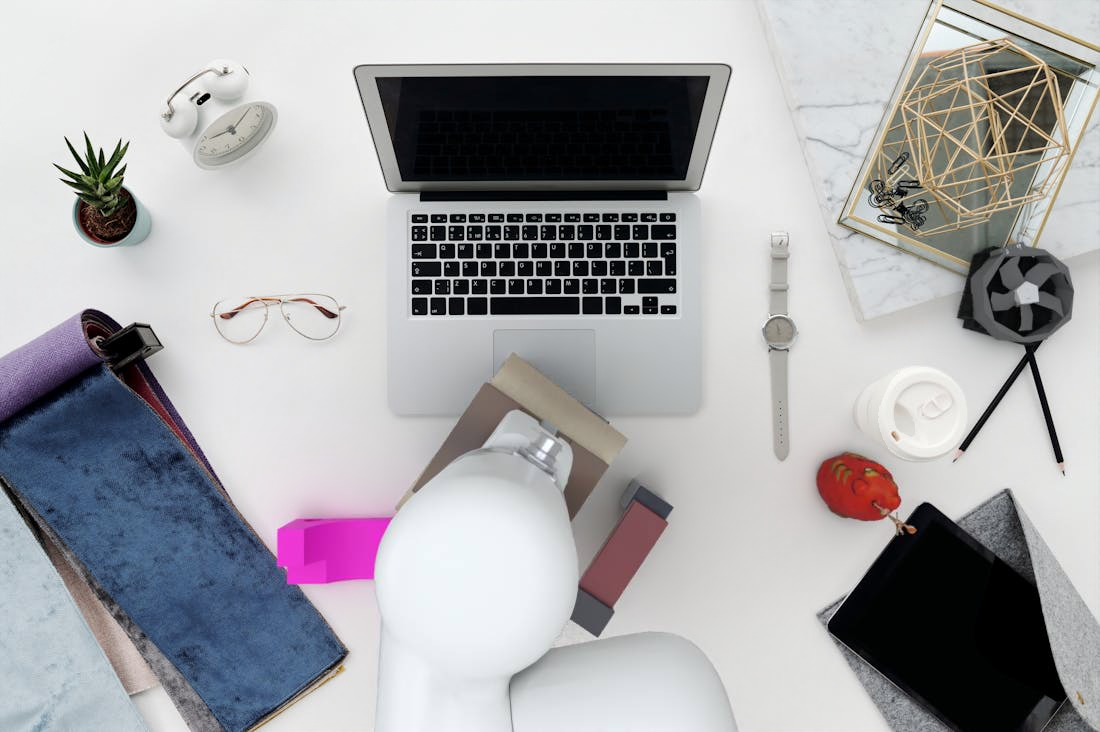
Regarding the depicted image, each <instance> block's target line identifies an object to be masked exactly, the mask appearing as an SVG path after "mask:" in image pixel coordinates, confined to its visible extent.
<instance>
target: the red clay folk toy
mask: <svg viewBox="0 0 1100 732" xmlns="http://www.w3.org/2000/svg"><path fill="white" fill-rule="evenodd" d="M885 467H886V466H884V465H883V464H880V463H879V462H877V461H875V460H872V459H869V458H867V457H866V456H863V455H862V454H858V453H854V452H850V451H845V452H843V453H841V454H840V455H838V456H833V457H831V458H828V459H826V460H825V461H823V462H822V464H821V465H820V468H819V470H818V472H817V474H816V479H815V480H816V488H817V491H818V493H819V495H820V497H821V499H822V500H823V502H824V503H825V504H826V505H827V508H828V509H829V511H830V512H831V513H833V514H835V515H836V516H838V517H840V518H842V519H852V520H858V521H861V522H876V521H877V522H878V521H882V520H884V519H885V518H886V517H888V518H889V519H890V520H891V522H893V524H894V525H895V534H896V535H895V536H896V537H898V536H899V533H900V535H902V536H903V535H905V532H904V531H903V530H902V527H905V529H906V530H907V532H908V533H909V534H915V533H916V532H917V529H916V528H915V526H913V525H910V524H906V523H905V522H903V521H902V520H900V519H899V517H898V516H899V515H898V514H899V513H898V512H895V517H894V516H892V515H891V514H892V513H893V512H894V511H896V510H897V509H898V508H900V506H901V504H902V498H901V496H900V495H899V487H898V484H897V483H896V482H895V481H894V477H893V475H892V473H891V472H890V471H889V470H888V469H887V468H885Z"/></svg>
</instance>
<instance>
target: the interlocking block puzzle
mask: <svg viewBox="0 0 1100 732" xmlns="http://www.w3.org/2000/svg"><path fill="white" fill-rule="evenodd" d="M513 410H520V411H522V412H524V413H526V414H527V415H529V416H531V417H532V418H534V419H535V420H537V421H538V422H539V424H540V422H541V421H542V420H543V418H544V419H545V420H547V421H548V422H550V423H551V424H552V425H554V426H555V427H557V428H558V430H557V432H556V435H555V437H556V438H559V437H561V438H562V439H563V440H565V441H566V442H567V443H568V444H569V445H570V447H571V449H572V453H573V462H572V467H571V471H570V474H569V477H568V482H567V484H566V486H565V489H564V492H563V494H564V497H565V501H566V505H567V510H568V514H569V519H570V524H571V523H572V522H573V520H574V519H575V518H576V516H577V515H578V513H579V511H580V510H581V509H582V507H583V505H584V504H585V502H586V501H587V499H588V498H589V497H590V495H591V493H592V492H593V490H594V489H595V488H596V486H597V485H598V483H599V482H600V480H601V479H602V477H603V476H604V475H605V473H606V472H607V470H608V469H609V466H610V465H611V464H612V462H613V460H614V459H616V457H617V455H618V454H619V453H620V452H621V450H622V449H623V447H624V446H625V445H626V444H627V443H628V441H629V438H627V437H626V436H625V435H623V434H622V433H620V432H619V431H618V430H617V429H615V428H614V427H613V426H612V425H610V421H609V420H607V419H605V418H604V417H603V416H601V415H599V414H598V413H596V411H593V410H592V409H590V407H587V405H585V404H583V403H582V402H580V401H579V400H577V399H576V398H575V397H573V396H572V395H570V394H569V393H568V392H566V390H564V389H562V388H561V387H560V386H558V384H556V383H555V382H554V381H552V380H550V379H549V378H548V377H547V376H545V375H544V374H543V373H541V372H540V371H538V370H537V368H535V367H533V366H532V365H531V364H529V363H528V362H527V361H525V360H524V359H523V358H521V357H520V356H519V355H517V354H516V353H515V352H512V353H511V354H510V356H509V357H508V358H507V359H506V361H504V362H503V363H502V364H501V367H500V368H499V369H498V372H497V373H496V374H495V375H494V376H493V377H492V379H491V380H490V382H489V381H485V382H484V383H483V384H482V386H481V387H480V389H479V390H478V392H477V393H476V395H475V396H474V398H473V399H472V400H471V402H470V404H469V405H468V407H467V408H466V409H465V411H464V412H463V414H462V415H461V417H460V418H459V419H458V421H457V423H456V424H455V426H453V428H452V430H451V431H450V433H449V434H448V436H447V437H446V439H445V440H444V441H443V443H442V445H441V446H440V448H439V449H438V450H437V452H436V453H435V454H434V456H433V457H432V458H431V459H430V461H429V462H428V464H427V465H426V466H425V468H424V469H423V470H422V472H421V473H420V474H419V476H417V477H416V480H415V481H414V482H413V483H412V485H411V486H410V487H409V489H408V490H407V491H406V492H405V494H404V495H403V496H402V498H401V499H400V501H399V502H398V503H397V505H396V506H395V507H394V509H395V510H396V511H397V512H398V511H399V510H400V509H401V507H402V506H403V505H404V504H405V503H406V502H407V501H408V500H409V499H410V498H411V497H412V496H413V495H414V494H415V493H416V492H418V491H419V490H420V489H421V488H422V487H423V486H424V485H426V484H427V483H428V482H429V481H430V480H431V479H433V478H434V477H435V476H436V475H438V473H439V472H441V471H442V470H443V469H444V468H445V467H446V466H448V465H449V464H450V463H451V462H452V461H454V460H455V459H456V458H458V457H460V456H461V455H464V454H466V453H468V452H470V451H473V450H476V449H480V448H482V446H483V445H484V444H485V442H486V441H487V440H488V439H489V437H490V436H491V435H492V433H493V432H494V431H495V429H496V428H497V427H498V425H499V424H500V422H501V421H502V420H503V418H504V417H505V416H506V415H507V413H508V412H510V411H513Z"/></svg>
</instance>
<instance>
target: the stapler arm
mask: <svg viewBox="0 0 1100 732" xmlns="http://www.w3.org/2000/svg"><path fill="white" fill-rule="evenodd" d="M668 525H669V522H668V521H667V519H666V520H665V519H663V518H662V517H660V516H659V515H657V514H656V513H654V512H653V511H652V510H650V509H649V508H647V507H646V506H644V505H643V504H641V503H640V502H638V501H637V500H635V499H633V500H632V501H631V503H630V504H629V506H628V507H627V509H626V510H625V509H624V512H623V513H622V514H621V516H620V518H619V519H618V521H617V522H616V524H615V525H614V527H613V528H612V529H611V531H610V533H609V534H608V536H607V537H606V538H605V540H604V542H603V543H602V545H601V546H600V548H599V549H598V551H597V552H596V554H595V555H594V556H593V558H592V560H591V561H590V562H589V564H588V565H587V567H586V569H585V570H584V571H583V572H582V573H583V574H581V576H580V577H579V582H578V592H577V598H576V602H575V606H574V609H573V612H572V615H571V617H570V619H569V621H571V622H573V623H574V624H576V625H578V626H579V627H581V628H582V629H583V630H585V631H587V632H588V633H589V634H591V635H592V636H593V637H596V638H597V639H598V638H599V637H600V636H601V634H602V633H603V631H604V630H605V628H606V626H607V625H608V624H609V622H610V621H611V619H612V618H613V616H614V615H615V609H614V606H615V605H616V603H617V602H618V601H619V599H620V597H621V596H622V595H623V593H624V591H625V590H626V588H627V587H628V586H629V584H630V583H631V581H632V579H633V578H634V577H635V575H636V573H637V572H638V571H639V569H640V568H641V566H642V564H643V563H644V562H645V560H646V558H647V557H648V556H649V554H650V553H651V551H652V550H653V548H654V546H655V545H656V543H657V542H658V540H659V539H660V538H661V536H662V534H663V533H664V531H665V530H666V528H667V527H668Z"/></svg>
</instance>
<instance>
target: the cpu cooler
mask: <svg viewBox="0 0 1100 732" xmlns="http://www.w3.org/2000/svg"><path fill="white" fill-rule="evenodd" d="M962 293H963V294H962V295H961V300H960V302H959V306H958V310H957V315H956V318H957V319H960V320H961V321H962V320H963V324H962V326H961V327H962V329H965V330H969V331H972V332H975V333H979V334H982V335H986V336H988V337H989V336H990V337H993V338H994V339H995V340H996V341H1005V342H1011V343H1014V344H1018V345H1022V346H1025V347H1029V346H1031V347H1032V346H1038V345H1039V342H1040V341H1046V340H1049V337H1051V336H1052V335H1053V334H1055V333H1056V332H1057V331H1059V330H1060V329H1061V328H1063V326H1065V325H1066V324H1068V323H1069V322H1070V321H1071V320H1072V318H1073V309H1074V308H1073V307H1074V297H1075V289H1074V285H1073V281H1072V277H1071V273H1070V269H1069V267H1068V265H1066V264H1065V263H1064V262H1062V261H1061V260H1060V259H1058V258H1057V257H1056V256H1054V255H1053V254H1052V253H1050V252H1049V251H1048V250H1046V249H1044V248H1039V247H1033V246H1029V245H1026V243H1025V242H1024V241H1019V242H1016V243H1012V244H1010V245H1007V246H1004V247H1003V246H1002V247H1000V246H996V245H992V246H989V247H986V248H983V249H982V251H980V252H977V253H974V254H973V255H972V260H971V262H970V266H969V270H968V274H967V278H966V280H965V284H964V288H963V292H962Z"/></svg>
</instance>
